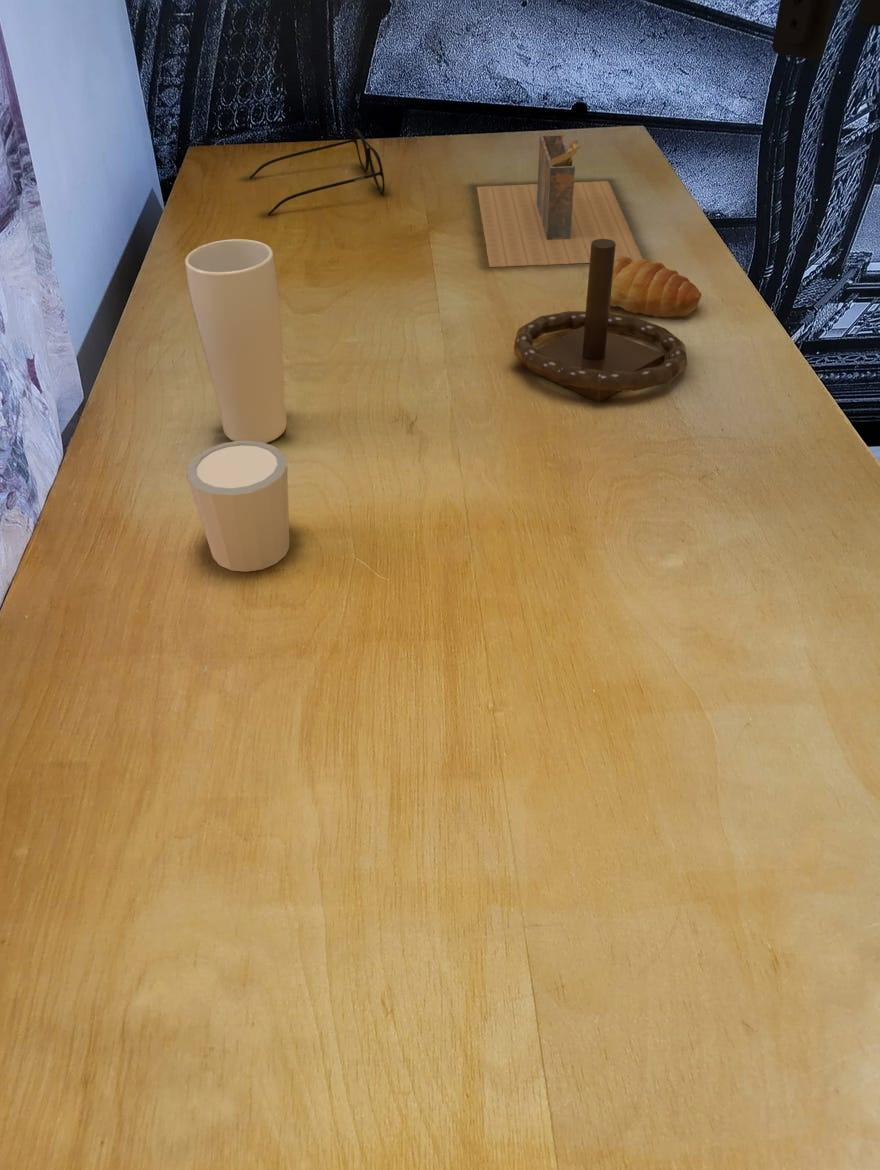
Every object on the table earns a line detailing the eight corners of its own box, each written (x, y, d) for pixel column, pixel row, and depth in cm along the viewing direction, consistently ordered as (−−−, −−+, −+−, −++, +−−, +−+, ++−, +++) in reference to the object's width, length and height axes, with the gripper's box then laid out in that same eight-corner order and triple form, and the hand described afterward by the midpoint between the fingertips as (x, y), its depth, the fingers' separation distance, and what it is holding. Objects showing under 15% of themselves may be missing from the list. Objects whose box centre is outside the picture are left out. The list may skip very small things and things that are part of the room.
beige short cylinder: (184, 549, 76) (166, 467, 71) (258, 509, 79) (245, 428, 74) (242, 590, 72) (227, 506, 67) (317, 546, 75) (307, 463, 71)
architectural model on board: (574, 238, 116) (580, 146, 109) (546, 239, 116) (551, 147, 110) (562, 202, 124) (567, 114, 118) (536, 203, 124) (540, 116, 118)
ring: (586, 312, 102) (588, 296, 101) (720, 364, 93) (724, 347, 92) (477, 350, 94) (479, 333, 93) (613, 410, 85) (616, 392, 84)
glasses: (388, 198, 128) (381, 157, 124) (271, 229, 127) (261, 188, 123) (360, 163, 138) (354, 124, 135) (252, 191, 137) (243, 152, 134)
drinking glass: (203, 449, 86) (169, 271, 76) (232, 408, 91) (203, 236, 81) (281, 456, 84) (256, 276, 74) (306, 414, 89) (286, 240, 79)
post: (586, 335, 98) (596, 214, 91) (664, 366, 93) (681, 241, 86) (521, 368, 94) (526, 244, 87) (599, 402, 89) (611, 274, 81)
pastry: (709, 302, 102) (716, 264, 100) (680, 329, 99) (686, 290, 96) (623, 282, 107) (627, 245, 104) (592, 307, 103) (595, 269, 100)
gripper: (903, -336, 47) (818, 79, 59) (1068, -343, 56) (965, 22, 67) (760, -327, 52) (707, 58, 63) (933, -335, 60) (858, 7, 71)
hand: (840, 39), depth 65 cm, fingers open, 9 cm apart
